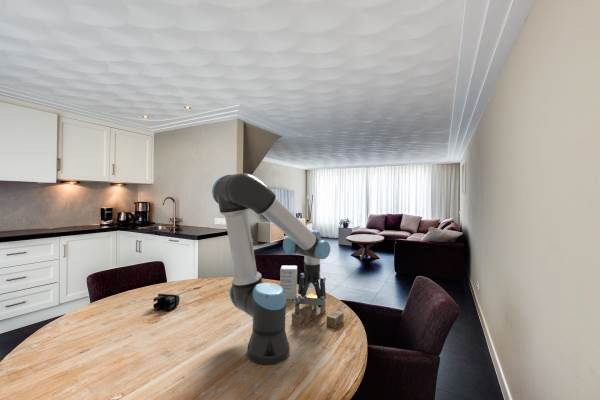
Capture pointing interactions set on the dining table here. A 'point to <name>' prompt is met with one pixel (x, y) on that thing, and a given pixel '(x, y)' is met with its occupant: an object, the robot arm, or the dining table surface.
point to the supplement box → (289, 280)
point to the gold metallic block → (309, 305)
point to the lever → (309, 300)
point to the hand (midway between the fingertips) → (311, 311)
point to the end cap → (166, 302)
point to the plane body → (304, 315)
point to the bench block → (335, 318)
